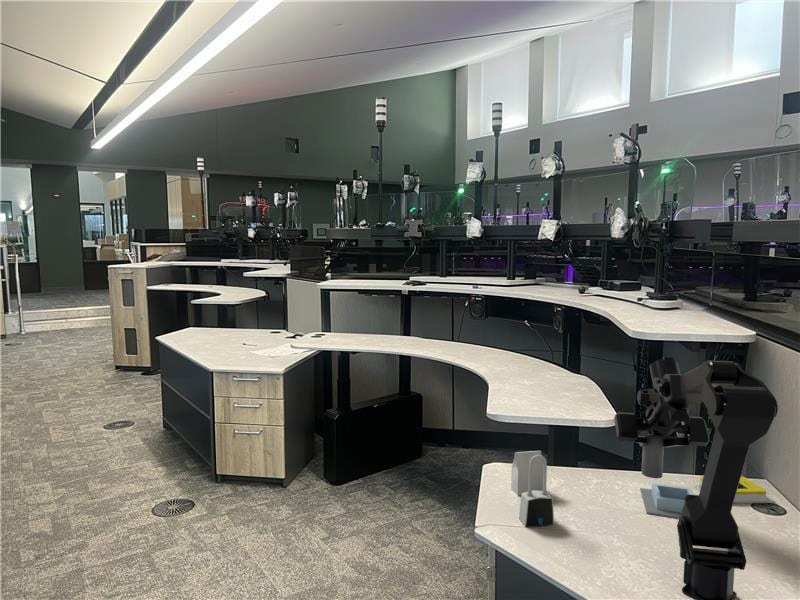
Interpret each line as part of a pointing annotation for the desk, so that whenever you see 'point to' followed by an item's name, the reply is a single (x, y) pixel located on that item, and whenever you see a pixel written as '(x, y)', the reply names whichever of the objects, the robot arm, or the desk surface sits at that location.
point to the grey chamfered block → (526, 472)
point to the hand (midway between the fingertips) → (651, 445)
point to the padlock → (536, 502)
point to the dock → (665, 499)
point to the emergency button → (746, 492)
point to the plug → (653, 457)
